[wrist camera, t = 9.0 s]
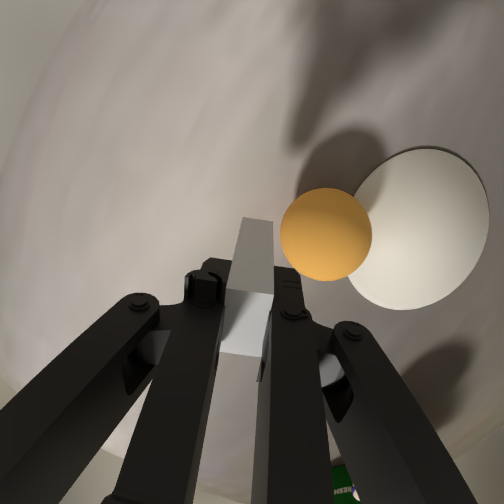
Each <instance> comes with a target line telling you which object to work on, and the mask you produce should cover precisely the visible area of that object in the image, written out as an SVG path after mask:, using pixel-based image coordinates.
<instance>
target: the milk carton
mask: <svg viewBox="0 0 504 504" xmlns="http://www.w3.org/2000/svg"><path fill="white" fill-rule="evenodd" d="M331 472H332V483H333V494H334V504H361V502H360V501H359V500H357V499H356V498H355V497H354V496H353V494H352V488H353V483H352V480H351V478H350V475H349V473H348V470H347V468H346V466H345V465H343V466H339V467H335V468H331Z"/></svg>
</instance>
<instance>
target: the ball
mask: <svg viewBox="0 0 504 504" xmlns="http://www.w3.org/2000/svg"><path fill="white" fill-rule="evenodd" d="M280 239H281V245H282V249H283V252H284V254H285V256H286V258H287V259H288V261H289V262H290V263H291V265H292V266H293V267H294V268H295V269H296V270H297V271H299V272H300V273H302V274H303V275H305V276H307V277H309V278H312V279H315V280H320V281H332V280H338V279H341V278H344V277H346V276H348V275H350V274H351V273H353V272H354V271H355V270H357V269H358V268H359V267H360V266H361V264H362V263H363V262H364V260H365V259H366V257H367V255H368V253H369V250H370V247H371V243H372V227H371V222H370V219H369V216H368V214H367V212H366V210H365V209H364V208H363V206H362V205H361V204H360V203H359V201H358V200H356V199H355V198H354V197H353V196H351V195H350V194H348V193H346V192H344V191H341V190H338V189H334V188H319V189H314V190H310V191H308V192H306V193H304V194H302V195H301V196H299V197H298V198H297V199H296V200H294V201H293V203H292V204H291V205H290V206H289V208H288V209H287V210H286V212H285V214H284V217H283V220H282V223H281V228H280Z"/></svg>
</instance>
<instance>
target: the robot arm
mask: <svg viewBox="0 0 504 504" xmlns="http://www.w3.org/2000/svg"><path fill="white" fill-rule="evenodd" d="M219 351H220V352H226V353H233V354H240V355H247V356H255V357H261V354H262V359H261V363H260V368H259V372H258V377H257V381H256V382H259V386H258V403H257V420H256V435H255V451H254V466H253V481H252V495H251V504H334V494H333V483H332V472H331V462H330V452H329V443H328V434H327V425H326V420H327V422H328V425H329V427H330V430H331V432H332V434H333V437H334V439H335V442H336V444H337V446H338V449H339V451H340V454H341V456H342V458H343V461H344V463H345V466H346V468H347V470H348V473H349V475H350V478H351V480H352V483H353V485H354V487H355V490H356V492H357V495H358V497H359V499H360V502H361V504H478V503H477V502H476V500H475V498H474V496H473V494H472V492H471V491H470V489H469V487H468V485H467V484H466V482H465V480H464V479H463V477H462V475H461V473H460V472H459V470H458V468H457V466H456V465H455V463H454V461H453V460H452V458H451V456H450V455H449V453H448V451H447V450H446V448H445V446H444V445H443V443H442V441H441V440H440V438H439V436H438V435H437V433H436V432H435V430H434V428H433V427H432V425H431V424H430V422H429V420H428V419H427V417H426V416H425V414H424V412H423V411H422V409H421V408H420V406H419V405H418V403H417V401H416V400H415V398H414V397H413V395H412V394H411V392H410V391H409V389H408V388H407V386H406V384H405V383H404V381H403V380H402V378H401V377H400V375H399V374H398V372H397V371H396V369H395V368H394V366H393V365H392V363H391V362H390V360H389V359H388V357H387V356H386V354H385V353H384V351H383V350H382V348H381V347H380V346H379V344H378V343H377V341H376V340H375V338H374V337H373V335H372V334H371V332H370V331H369V330H368V329H367V328H366V327H364V326H363V325H361V324H359V323H356V322H353V321H342V322H339V323H337V324H336V325H335V327H334V329H331V328H328V327H325V326H322V325H320V324H317V323H316V322H314V321H313V320H312V316H311V314H310V312H309V311H308V310H307V309H306V308H305V305H304V298H303V291H302V284H301V277H300V275H299V274H298V272H297V271H296V270H295V269H293V268H286V267H279V266H274V250H273V221H266V220H259V219H252V218H246V217H243V218H242V223H241V227H240V231H239V235H238V239H237V244H236V248H235V252H234V256H233V260H232V261H231V260H224V259H217V258H211V257H210V258H209V259H208V260H206V261H205V262H203V265H202V267H201V269H200V270H194V271H191V272H189V273H188V274H187V275H186V276H185V284H184V300H183V302H182V303H179V304H175V305H159V301H158V300H157V298H156V297H154V296H152V295H150V294H147V293H133V294H129V295H127V296H125V297H123V298H122V299H121V300H120V301H118V302H117V303H116V304H115V305H114V306H113V307H112V308H110V309H109V310H108V311H107V312H106V313H105V314H104V315H102V316H101V317H100V318H99V319H98V320H97V321H96V322H94V323H93V324H92V325H91V326H90V327H89V328H88V329H87V330H85V331H84V332H83V333H82V334H81V335H80V336H79V337H78V338H76V339H75V340H74V341H73V342H72V343H71V344H70V345H69V346H68V347H67V348H65V349H64V350H63V351H62V352H61V353H60V354H59V355H58V356H57V357H56V358H55V359H53V360H52V361H51V362H50V363H49V364H48V365H47V366H46V367H45V368H44V369H43V370H42V371H41V372H40V373H38V374H37V375H36V376H35V377H34V378H33V379H32V380H31V381H30V382H29V383H28V384H27V385H26V386H25V387H24V388H23V389H22V390H21V391H20V392H19V393H18V394H17V395H15V397H13V398H12V399H11V400H10V401H9V402H8V403H7V404H6V405H5V406H4V407H3V409H1V410H0V504H58V503H59V502H60V501H61V500H62V498H63V497H64V496H65V494H66V493H67V492H68V490H69V489H70V488H71V486H72V485H73V484H74V482H75V481H76V480H77V478H78V477H79V476H80V474H81V473H82V471H83V470H84V469H85V468H86V466H87V465H88V464H89V462H90V461H91V460H92V458H93V457H94V456H95V454H96V453H97V452H98V450H99V449H100V448H101V446H102V445H103V444H104V443H105V441H106V440H107V439H108V437H109V436H110V435H111V433H112V432H113V431H114V429H115V428H116V427H117V425H118V424H119V423H120V421H121V420H122V419H123V417H124V416H125V415H126V413H127V412H128V411H129V409H130V408H131V407H132V405H133V404H134V403H135V401H136V400H137V399H138V398H139V396H140V395H141V394H142V392H143V391H144V390H145V388H146V387H147V386H148V384H149V383H150V382H151V380H152V379H153V380H152V382H151V385H150V388H149V390H148V393H147V396H146V399H145V401H144V404H143V407H142V410H141V412H140V415H139V418H138V421H137V424H136V427H135V429H134V432H133V435H132V438H131V441H130V444H129V447H128V450H127V453H126V456H125V459H124V462H123V465H122V468H121V471H120V474H119V477H118V480H117V483H116V486H115V488H114V491H113V492H112V494H110V495H108V496H106V497H105V498H104V500H103V501H102V503H101V504H193V499H194V493H195V487H196V482H197V476H198V470H199V465H200V459H201V453H202V448H203V442H204V437H205V431H206V426H207V420H208V415H209V409H210V404H211V398H212V393H213V387H214V382H215V377H216V371H217V366H218V359H219Z"/></svg>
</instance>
